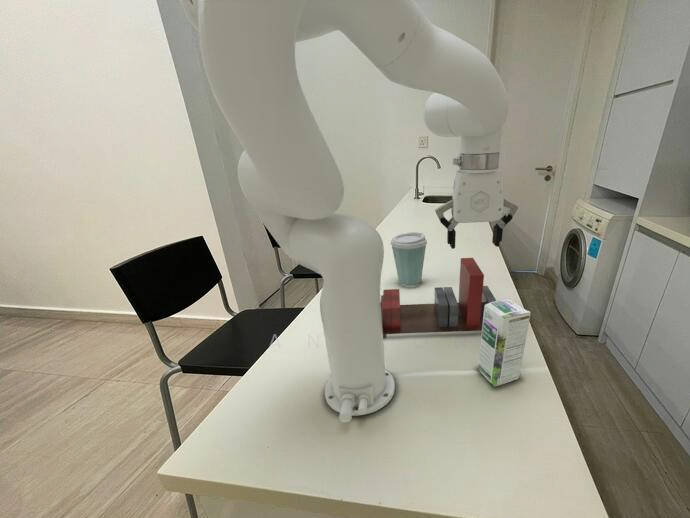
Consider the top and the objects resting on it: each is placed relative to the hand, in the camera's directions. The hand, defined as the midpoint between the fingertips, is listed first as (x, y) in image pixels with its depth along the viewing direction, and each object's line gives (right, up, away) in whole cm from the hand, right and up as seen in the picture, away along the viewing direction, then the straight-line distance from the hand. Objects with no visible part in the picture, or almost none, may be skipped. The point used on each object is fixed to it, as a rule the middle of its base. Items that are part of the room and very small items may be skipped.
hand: (473, 245), depth 73 cm
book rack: (-7, -17, +8) cm, 20 cm away
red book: (0, -16, +8) cm, 18 cm away
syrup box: (+2, -26, -10) cm, 29 cm away
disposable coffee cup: (-13, -7, +29) cm, 33 cm away
